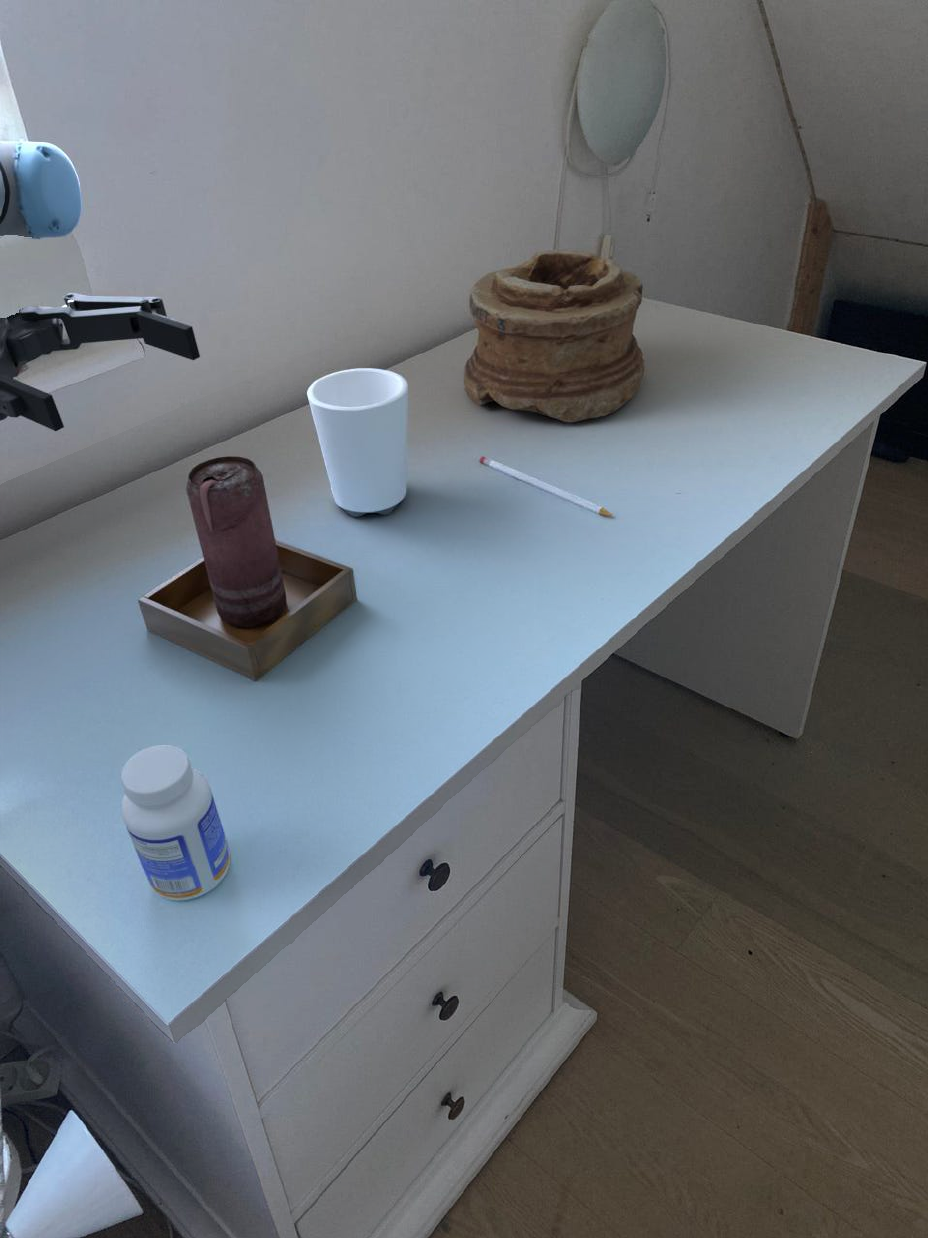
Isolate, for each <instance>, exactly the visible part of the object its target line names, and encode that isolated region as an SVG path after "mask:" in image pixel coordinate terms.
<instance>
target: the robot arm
mask: <svg viewBox="0 0 928 1238" xmlns="http://www.w3.org/2000/svg"><path fill="white" fill-rule="evenodd" d="M81 191H82V190H81V184H80V179H79V176H78V173H77V171H76V168H75V166H74V164H73V163H72V161H71V159H70V158H69V157H68V155H67V154H66V153H65V152H64V151H63V150H62V149H61V148H59V147H58V146H57V145H54V144H52V143H50V142H43V141H41V142H40V141H29V140H27V139H18V140H17V141H4V140H3V141H2V140H0V236H4V235H18V236H24V237H32V238H31V239H33V240H42V239H48V238H63V237H66V236H68V235H70V234H71V233H72V232H73V231H74V230H75V229H76V228H77V226H78V224H79V222H80V220H81V216H82V211H83V198H82V192H81ZM63 300H64V303H65V304H64V305H63V306H58V307H52V306H39V305H37V306H33V307H25V308H22V309H20V310H19V313H16V314H15V315H11V316H9V317H7V318H0V421H3V420H6V419H7V418H8V417H10V418H19V417H23V418H25V419H28V420H30V421H32V422H34V423H36V424H38V425H41V426H43V427H45V428H47V429H49V430H52V431H53V432H58V431H60V430H62V429H64V428H65V426H64V425H65V424H64V423H63V420H62V417H61V415H60V412H59V409H58V407H57V405H56V401H55V400H54V397H53V394H51V393H47V392H46V391H44V390H41V389H39V388H36V387H33V386H31V385H29V384H26V383H24V382H22V381H19V380H17V379H15V378H18V377H19V375H20V370H21V368H22V367H24V366H26V365H27V364H28V363H29V362H31V361H34V360H36V359H38V358H40V357H41V356H45V355H51V354H52V353H53V352H60V351H72V350H78V349H79V348H80V347H81V345H82V344H89V343H101V342H113V341H127V340H138V339H139V340H140V339H142V340H143V343H144V344H145V345H148V346H151V347H153V348H156V349H159V350H162V351H164V352H168V353H170V354H174V355H176V356H180V357H182V358H185V359H188V360H191V361H195V360H197V359H199V358H201V355H200V351H199V347H198V343H197V340H196V335H195V331H194V328H193V326H192V325H190V324H186V323H184V322H183V323H182V322H180V321H178V320H176V319H175V318H171V317H168V315H167V311H166V309H165V304H164V301H163V298H162V297H161V296H119V295H118V296H113V295H112V296H111V295H107V296H105V295H85V294H80V293H76V292H69V293H66V294H64V295H63ZM64 330H65V331H66V335H67V338H64ZM63 338H64V339H63Z"/></svg>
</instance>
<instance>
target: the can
mask: <svg viewBox="0 0 928 1238" xmlns="http://www.w3.org/2000/svg"><path fill="white" fill-rule="evenodd" d="M185 489H186V495H187V498H188V501H189V502H188V503H189V505H190V510H191V513H192V518H193V521H194V525H195V529H196V530H195V531H196V534H197V538H198V541H199V546H200V550H201V554H202V557H204V561H205V565H206V569H207V573H208V577H209V581H210V585H211V589H212V593H213V597H214V601H215V605H216V608H217V612H218V614H219V616H220V618H221V619H222V620H223V621H225V622H226V623H228V624H229V625H230V626H233V627H236V628H243V629H250V628H258V627H261V626H264V625H267V624H269V623H271V622H272V621H274V620H276V619H277V618H278V617H279V616H280V615H281V613H282V611H283V610H284V608H285V606H286V604H287V602H286V593H285V588H284V583H283V578H282V572H281V567H280V562H279V557H278V552H277V547H276V542H275V540H276V537H275V532H274V527H273V522H272V518H271V512H270V506H269V501H268V496H267V492H266V491H267V490H266V486H265V481H264V476H263V473H262V472H261V470H260V469H259V468H258V467H257V465H256V464H255V462H254V461H253V460H252V459H249V458H247V457H243V456H236V455H235V456H231V455H227V456H219V457H215V458H210V459H207V460H205V461H203V462H200V463H198V464H197V465H196V466H194V467H193V468H192V469H191V470H190V471H189V472H188V477H187V481H186V488H185Z"/></svg>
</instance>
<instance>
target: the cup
mask: <svg viewBox="0 0 928 1238" xmlns="http://www.w3.org/2000/svg"><path fill="white" fill-rule="evenodd" d="M306 395H307V398H308V403H309V407H310V412H311V415H312V419H313V422H314V427H315V431H316V435H317V438H318V442H319V446H320V450H321V454H322V458H323V462H324V465H325V469H326V473H327V478H328V481H329V485H330V489H331V493H332V497H333V500H334V503H335V504H336V505H337V506H338V507H340V508H341V509H342V510H344V511H345V512H346V513H348V514H349V515H350V516H351V517H354V518H359V517H362V516H364V515H365V514H370V513H377V514H379V515H388V514H391V513H392V511H393V510H394V509H395V508H396V507H397V506H398V505H399V504H400V502H402V501H403V500H405V498H406V496H407V475H408V473H407V471H408V470H407V468H408V466H407V465H408V464H407V463H408V411H409V410H408V409H409V408H408V407H409V404H408V400H409V399H408V398H409V384H408V382H407V379H406V378H405V377H404V376H402V375H401V374H399V373H396V372H394V371H391V370H387V369H383V368H372V367H364V368H363V367H359V368H351V369H343V370H340V371H335V372H332V373H329V374H327V375H324V376H322V377H320V378H318V379H316V380H315V381H313V383H312V384H310V386H309V387H308V389H307V391H306Z"/></svg>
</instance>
